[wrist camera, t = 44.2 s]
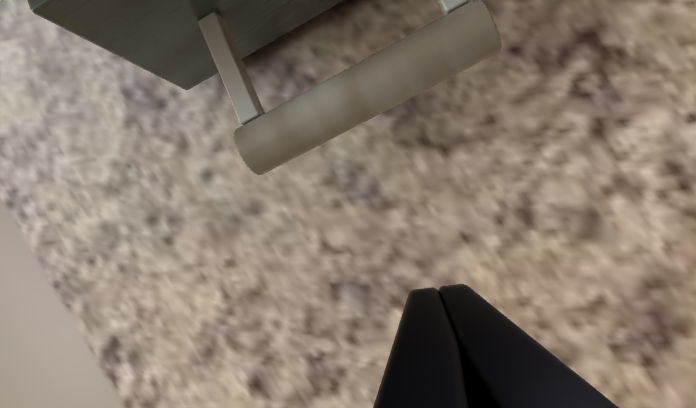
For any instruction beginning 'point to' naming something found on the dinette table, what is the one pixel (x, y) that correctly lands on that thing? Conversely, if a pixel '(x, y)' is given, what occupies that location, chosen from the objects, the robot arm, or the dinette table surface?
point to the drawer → (259, 30)
